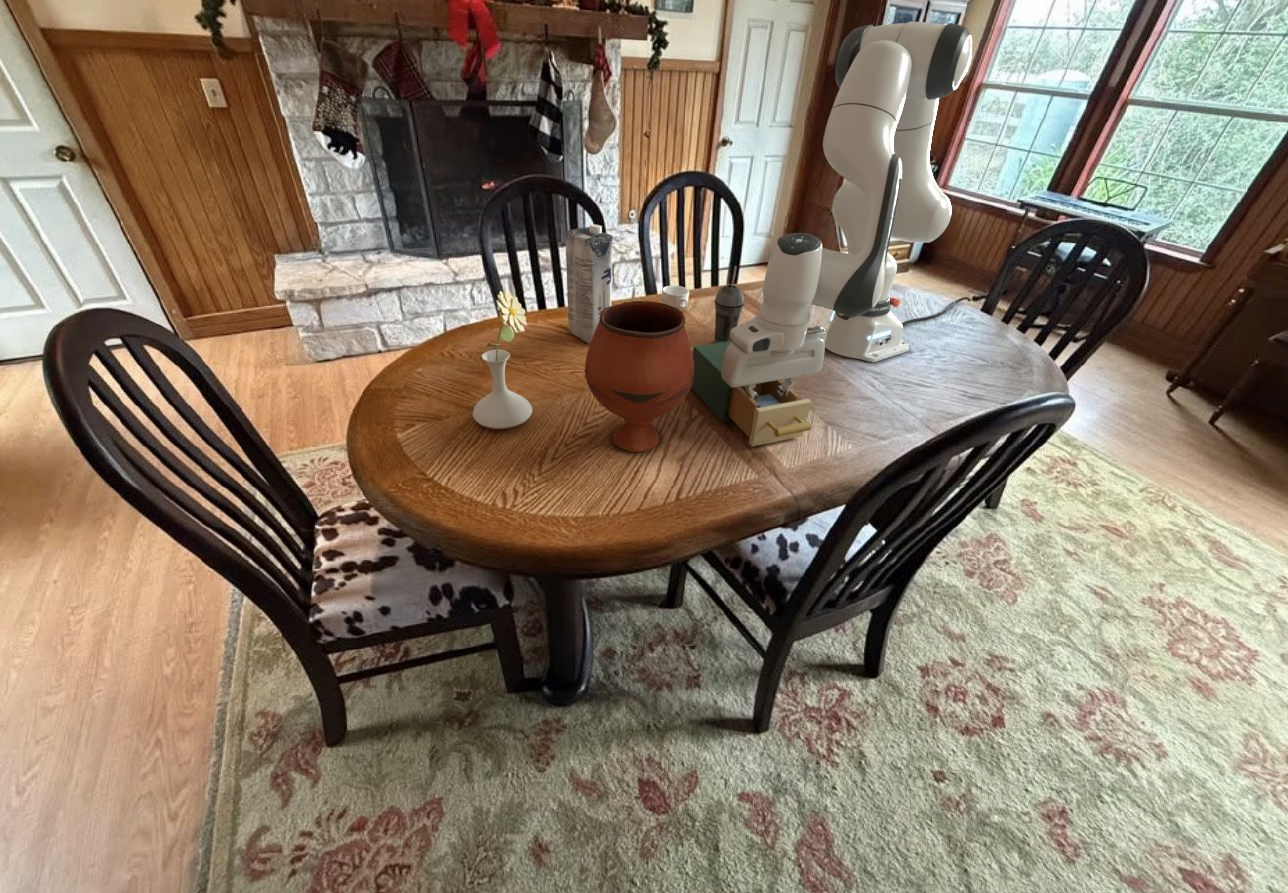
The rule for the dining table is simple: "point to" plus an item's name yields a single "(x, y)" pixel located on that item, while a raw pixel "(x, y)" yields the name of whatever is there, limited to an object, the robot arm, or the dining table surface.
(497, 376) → the flower in vase
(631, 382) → the goblet
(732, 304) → the beverage cup
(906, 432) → the dining table surface
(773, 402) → the block
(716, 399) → the cabinet
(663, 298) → the teacup
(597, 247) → the juice carton
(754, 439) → the drawer
